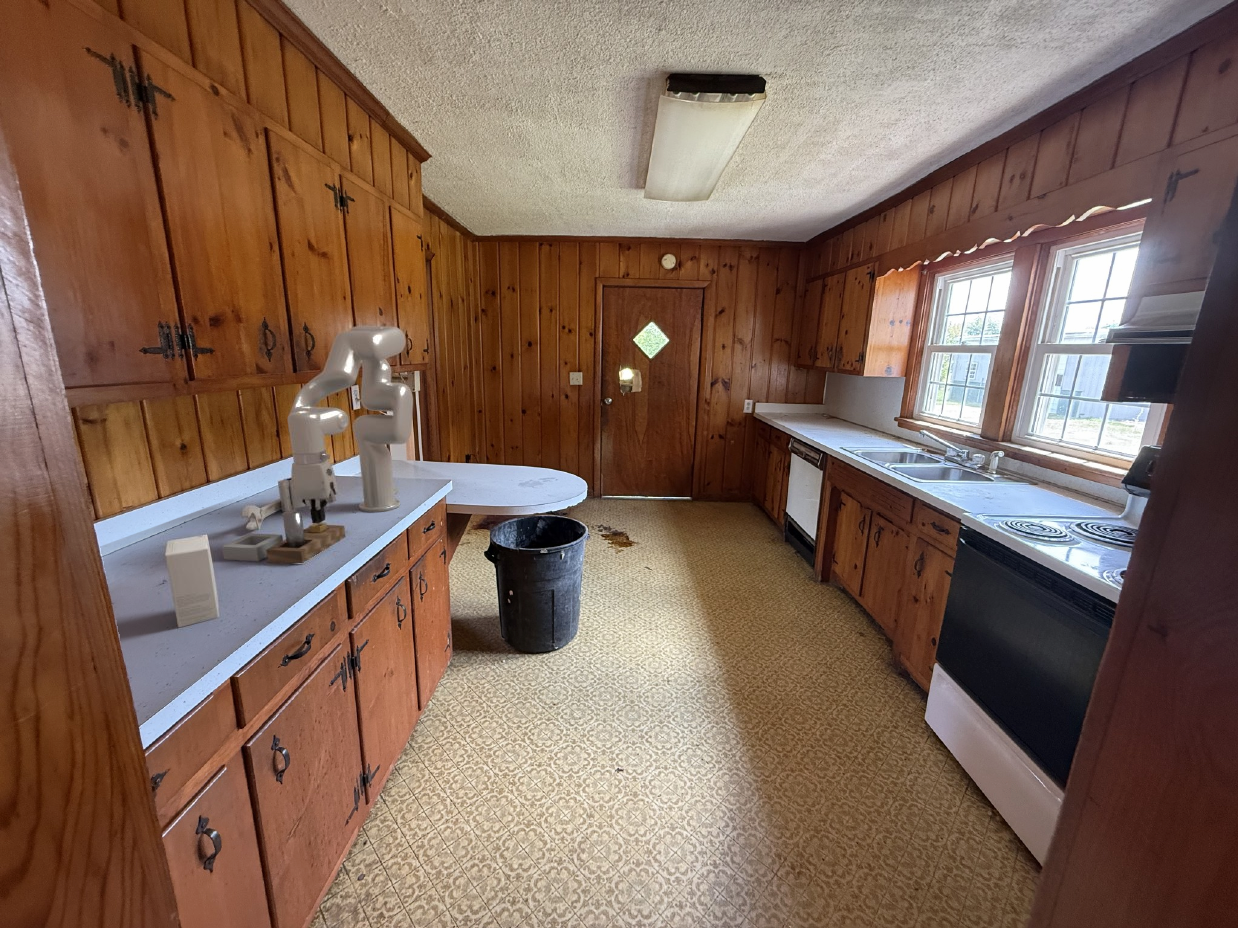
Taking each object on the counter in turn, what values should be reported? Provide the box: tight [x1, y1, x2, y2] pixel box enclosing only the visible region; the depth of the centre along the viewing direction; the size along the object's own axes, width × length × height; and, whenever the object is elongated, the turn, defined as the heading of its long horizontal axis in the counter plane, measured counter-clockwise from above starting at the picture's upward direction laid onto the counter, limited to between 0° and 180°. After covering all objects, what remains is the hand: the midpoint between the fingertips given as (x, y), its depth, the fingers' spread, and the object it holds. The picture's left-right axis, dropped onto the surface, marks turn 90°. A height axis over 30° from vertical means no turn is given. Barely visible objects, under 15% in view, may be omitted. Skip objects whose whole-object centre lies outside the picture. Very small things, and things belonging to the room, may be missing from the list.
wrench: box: [241, 498, 282, 531], centre depth 151 cm, size 8×2×30 cm
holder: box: [221, 532, 284, 562], centre depth 127 cm, size 9×9×4 cm
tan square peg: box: [308, 521, 328, 534], centre depth 134 cm, size 3×3×5 cm
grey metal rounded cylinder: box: [282, 509, 306, 548], centre depth 125 cm, size 4×4×12 cm
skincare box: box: [164, 534, 220, 628], centre depth 97 cm, size 8×7×16 cm
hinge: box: [277, 477, 307, 512], centre depth 161 cm, size 14×5×10 cm, turn 177°
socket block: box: [266, 524, 346, 564], centre depth 130 cm, size 18×9×4 cm, turn 177°
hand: (318, 521), depth 134 cm, fingers closed
